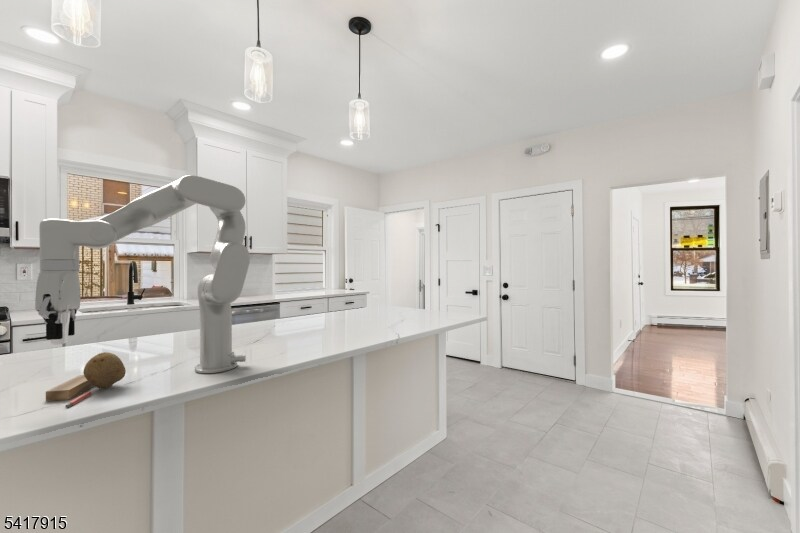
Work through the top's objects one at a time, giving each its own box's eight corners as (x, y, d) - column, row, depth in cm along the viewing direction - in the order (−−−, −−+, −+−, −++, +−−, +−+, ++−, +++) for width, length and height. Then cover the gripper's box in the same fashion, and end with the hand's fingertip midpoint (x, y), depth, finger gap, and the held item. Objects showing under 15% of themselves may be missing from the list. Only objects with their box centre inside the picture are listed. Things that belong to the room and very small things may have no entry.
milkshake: (58, 346, 91) (58, 306, 91) (42, 344, 92) (41, 305, 92) (78, 341, 96) (77, 304, 95) (62, 340, 97) (61, 303, 96)
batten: (99, 382, 107) (99, 373, 107) (69, 399, 93) (69, 389, 93) (79, 383, 106) (79, 375, 106) (45, 401, 92) (45, 391, 92)
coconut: (79, 388, 102) (79, 353, 101) (118, 380, 109) (118, 347, 108) (88, 395, 96) (87, 358, 96) (128, 386, 103) (128, 351, 103)
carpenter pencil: (91, 394, 97) (91, 391, 97) (68, 407, 88) (68, 404, 88) (87, 394, 97) (87, 391, 97) (64, 408, 88) (64, 404, 88)
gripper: (64, 266, 101) (64, 332, 101) (17, 267, 85) (18, 345, 85) (95, 266, 103) (96, 330, 103) (55, 267, 87) (56, 343, 87)
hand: (60, 336), depth 94 cm, fingers closed on milkshake, 4 cm apart
